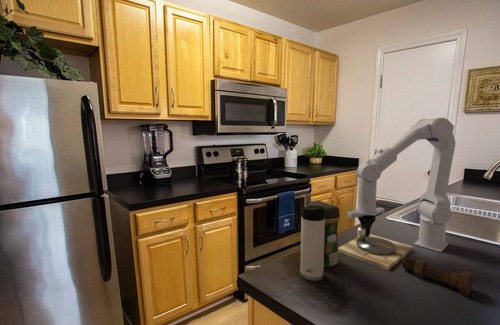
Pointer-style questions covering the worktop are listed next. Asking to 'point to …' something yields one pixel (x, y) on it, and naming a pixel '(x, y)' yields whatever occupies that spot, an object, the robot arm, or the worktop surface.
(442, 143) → the robot arm
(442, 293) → the worktop surface
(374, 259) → the board
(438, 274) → the bolt
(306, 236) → the travel mug
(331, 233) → the coffee jar
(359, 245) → the dial
